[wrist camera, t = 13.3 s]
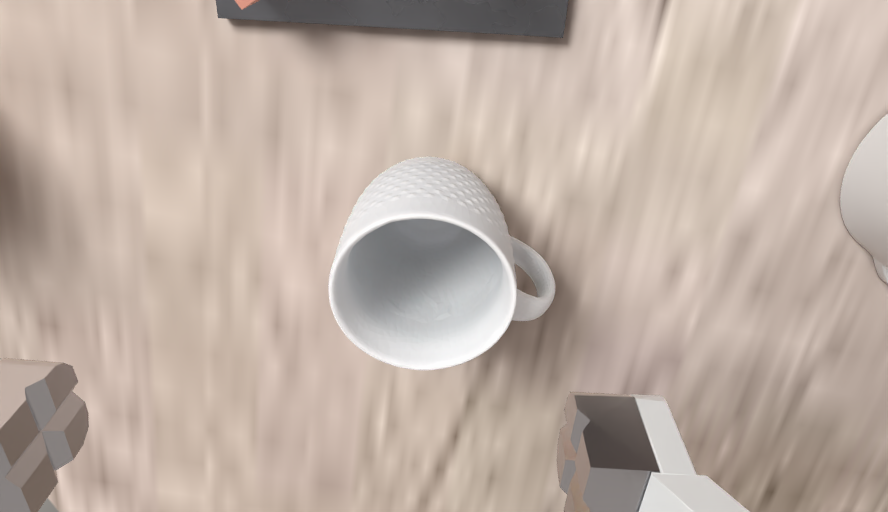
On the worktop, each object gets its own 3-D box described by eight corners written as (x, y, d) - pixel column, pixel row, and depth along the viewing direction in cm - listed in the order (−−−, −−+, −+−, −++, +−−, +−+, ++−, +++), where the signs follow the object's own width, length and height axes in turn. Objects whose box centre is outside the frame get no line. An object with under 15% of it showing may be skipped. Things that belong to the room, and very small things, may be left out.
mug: (575, 185, 46) (614, 279, 35) (510, 298, 51) (525, 411, 40) (387, 107, 43) (362, 182, 32) (338, 235, 48) (302, 338, 37)
